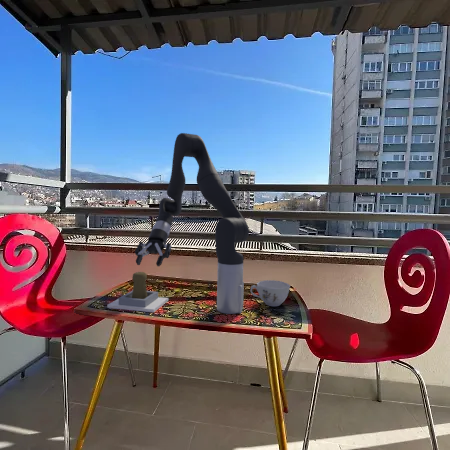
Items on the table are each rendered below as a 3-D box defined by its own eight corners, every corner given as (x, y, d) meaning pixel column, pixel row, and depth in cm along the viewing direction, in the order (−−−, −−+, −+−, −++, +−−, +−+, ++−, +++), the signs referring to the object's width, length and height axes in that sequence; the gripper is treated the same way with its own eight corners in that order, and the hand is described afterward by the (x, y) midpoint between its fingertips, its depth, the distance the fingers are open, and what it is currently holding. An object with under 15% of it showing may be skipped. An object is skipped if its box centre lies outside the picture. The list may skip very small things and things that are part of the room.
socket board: (168, 300, 108) (168, 291, 108) (153, 312, 96) (153, 302, 96) (126, 296, 112) (126, 288, 112) (107, 307, 99) (107, 298, 99)
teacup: (288, 299, 112) (289, 280, 112) (290, 311, 100) (291, 289, 99) (251, 297, 115) (251, 278, 114) (248, 307, 102) (249, 286, 102)
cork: (143, 304, 100) (143, 274, 100) (128, 303, 102) (128, 273, 101) (150, 299, 106) (150, 271, 106) (136, 297, 108) (136, 270, 107)
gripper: (141, 227, 119) (127, 258, 108) (173, 228, 116) (161, 260, 105) (147, 238, 124) (134, 268, 114) (177, 239, 122) (167, 271, 111)
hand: (147, 264), depth 110 cm, fingers open, 8 cm apart
